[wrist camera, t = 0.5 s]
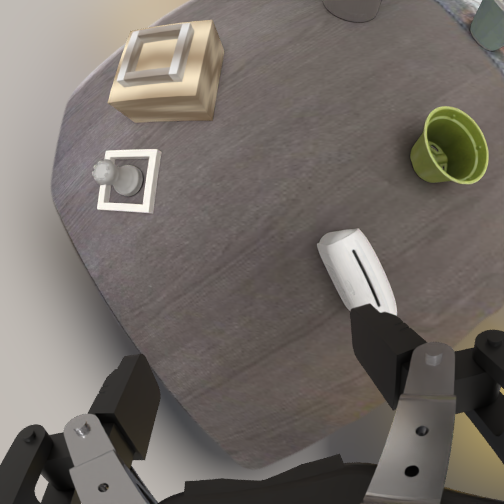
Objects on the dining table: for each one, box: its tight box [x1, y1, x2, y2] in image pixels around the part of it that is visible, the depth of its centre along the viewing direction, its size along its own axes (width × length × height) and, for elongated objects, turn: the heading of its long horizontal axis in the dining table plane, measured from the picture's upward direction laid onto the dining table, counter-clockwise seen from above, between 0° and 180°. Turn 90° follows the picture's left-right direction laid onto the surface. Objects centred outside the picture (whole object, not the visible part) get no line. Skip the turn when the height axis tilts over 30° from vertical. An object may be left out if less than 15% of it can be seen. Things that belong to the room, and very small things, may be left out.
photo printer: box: [317, 228, 397, 316], centre depth 31 cm, size 10×4×12 cm, turn 28°
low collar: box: [97, 149, 162, 213], centre depth 39 cm, size 9×9×2 cm
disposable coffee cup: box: [470, 0, 504, 51], centre depth 24 cm, size 11×11×15 cm
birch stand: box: [108, 20, 224, 123], centre depth 34 cm, size 12×12×10 cm
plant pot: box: [410, 106, 488, 184], centre depth 31 cm, size 9×9×9 cm
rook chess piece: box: [92, 159, 143, 197], centre depth 36 cm, size 4×4×8 cm
